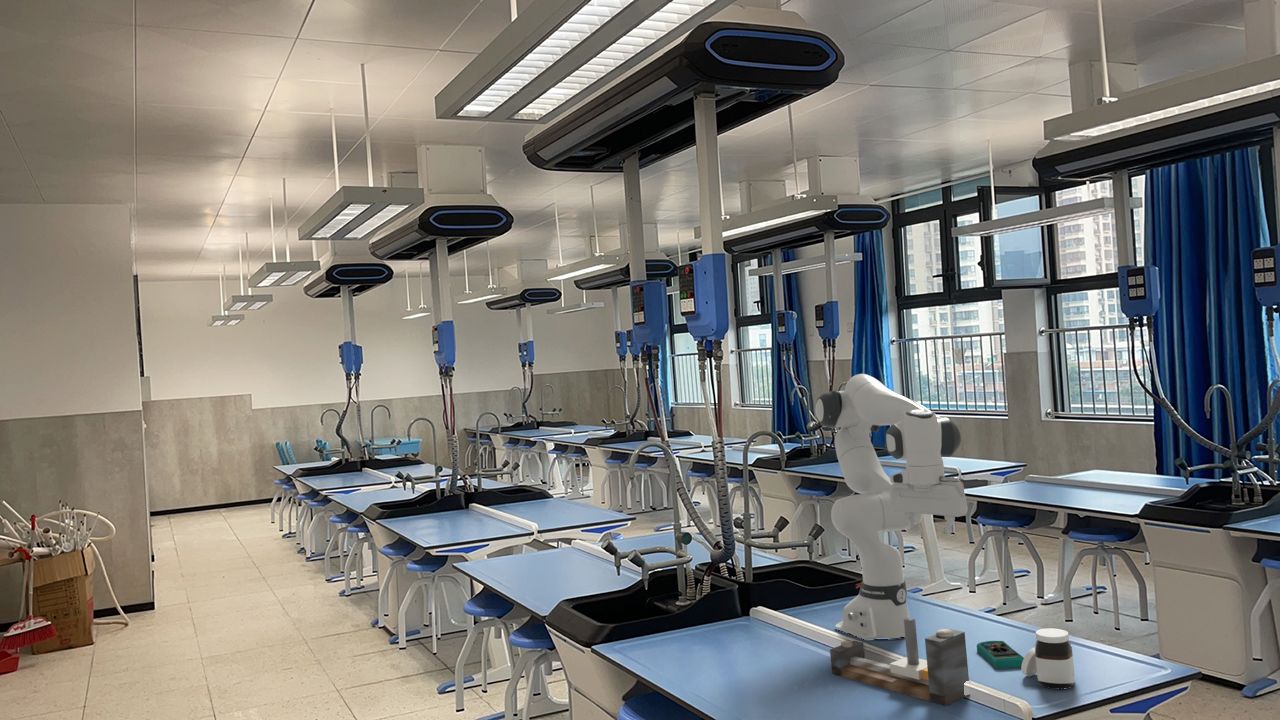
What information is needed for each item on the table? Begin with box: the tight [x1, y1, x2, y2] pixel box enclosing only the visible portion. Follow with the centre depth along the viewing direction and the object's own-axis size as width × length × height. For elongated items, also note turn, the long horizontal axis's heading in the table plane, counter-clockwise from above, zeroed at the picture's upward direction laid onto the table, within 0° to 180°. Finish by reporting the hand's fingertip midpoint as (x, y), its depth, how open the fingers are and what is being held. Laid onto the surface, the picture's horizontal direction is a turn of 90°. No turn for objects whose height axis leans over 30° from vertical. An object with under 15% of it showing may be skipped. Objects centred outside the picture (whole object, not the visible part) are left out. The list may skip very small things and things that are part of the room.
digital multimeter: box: [976, 640, 1025, 670], centre depth 231 cm, size 7×15×3 cm, turn 178°
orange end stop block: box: [921, 667, 929, 680], centre depth 211 cm, size 3×5×2 cm, turn 126°
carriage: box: [889, 617, 927, 680], centre depth 216 cm, size 8×7×12 cm
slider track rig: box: [829, 628, 970, 707], centre depth 220 cm, size 33×9×15 cm, turn 36°
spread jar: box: [1021, 627, 1076, 690], centre depth 213 cm, size 12×11×12 cm
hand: (930, 532), depth 229 cm, fingers open, 8 cm apart
